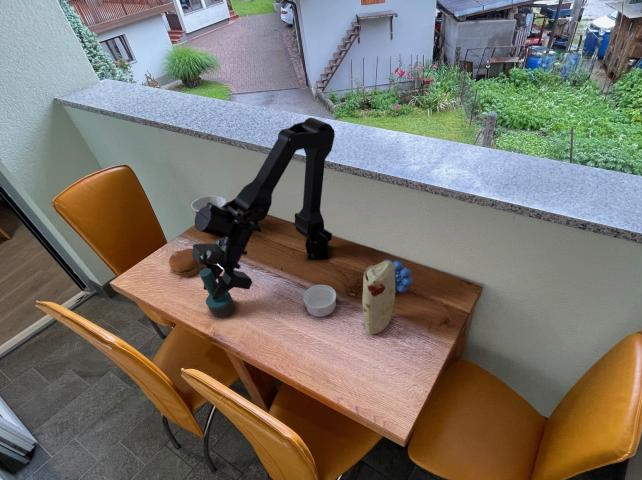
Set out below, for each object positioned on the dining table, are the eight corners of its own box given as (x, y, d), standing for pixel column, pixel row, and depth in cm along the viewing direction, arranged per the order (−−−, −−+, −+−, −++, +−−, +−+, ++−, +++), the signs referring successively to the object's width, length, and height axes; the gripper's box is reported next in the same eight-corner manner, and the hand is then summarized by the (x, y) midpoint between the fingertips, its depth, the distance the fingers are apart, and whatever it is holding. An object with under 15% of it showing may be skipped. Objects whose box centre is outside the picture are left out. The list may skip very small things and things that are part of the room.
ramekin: (323, 290, 100) (322, 279, 96) (344, 306, 95) (343, 295, 92) (299, 306, 95) (296, 295, 92) (319, 324, 91) (317, 313, 88)
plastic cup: (243, 229, 121) (232, 199, 112) (219, 246, 114) (206, 215, 106) (222, 220, 125) (210, 190, 116) (197, 236, 119) (183, 205, 110)
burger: (198, 277, 104) (192, 266, 101) (168, 277, 104) (160, 266, 101) (209, 256, 111) (203, 245, 107) (180, 256, 111) (174, 245, 108)
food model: (377, 343, 87) (377, 286, 72) (357, 330, 89) (353, 273, 75) (399, 319, 92) (404, 262, 77) (379, 308, 95) (380, 250, 80)
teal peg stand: (238, 301, 97) (222, 263, 87) (231, 318, 93) (213, 281, 83) (216, 300, 98) (197, 263, 87) (208, 318, 93) (187, 280, 83)
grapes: (417, 290, 99) (421, 257, 90) (406, 305, 95) (409, 273, 86) (382, 276, 103) (382, 244, 94) (370, 290, 99) (369, 258, 91)
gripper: (187, 216, 84) (163, 271, 87) (225, 250, 75) (196, 310, 78) (227, 229, 94) (204, 278, 97) (264, 261, 84) (238, 314, 87)
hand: (209, 294), depth 89 cm, fingers open, 5 cm apart
